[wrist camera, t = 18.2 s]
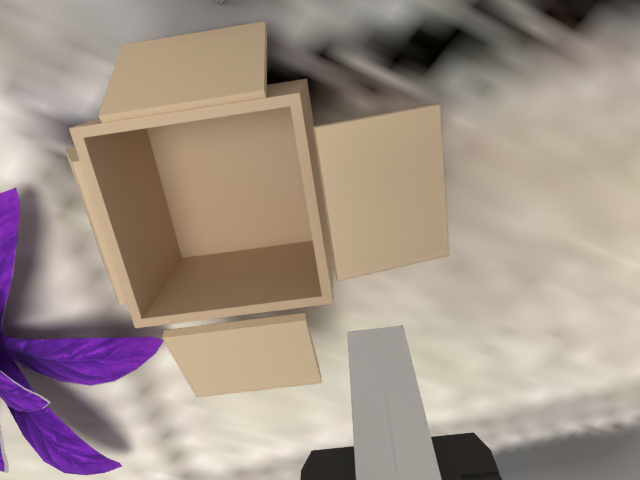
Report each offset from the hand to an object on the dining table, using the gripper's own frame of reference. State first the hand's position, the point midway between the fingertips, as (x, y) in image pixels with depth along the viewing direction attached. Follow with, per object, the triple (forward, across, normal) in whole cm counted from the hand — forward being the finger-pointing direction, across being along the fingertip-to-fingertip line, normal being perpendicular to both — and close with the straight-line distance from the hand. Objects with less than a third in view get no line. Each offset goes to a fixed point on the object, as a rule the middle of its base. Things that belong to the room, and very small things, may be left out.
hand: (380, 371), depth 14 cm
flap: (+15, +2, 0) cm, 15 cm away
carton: (+26, +10, -2) cm, 28 cm away
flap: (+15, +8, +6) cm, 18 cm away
